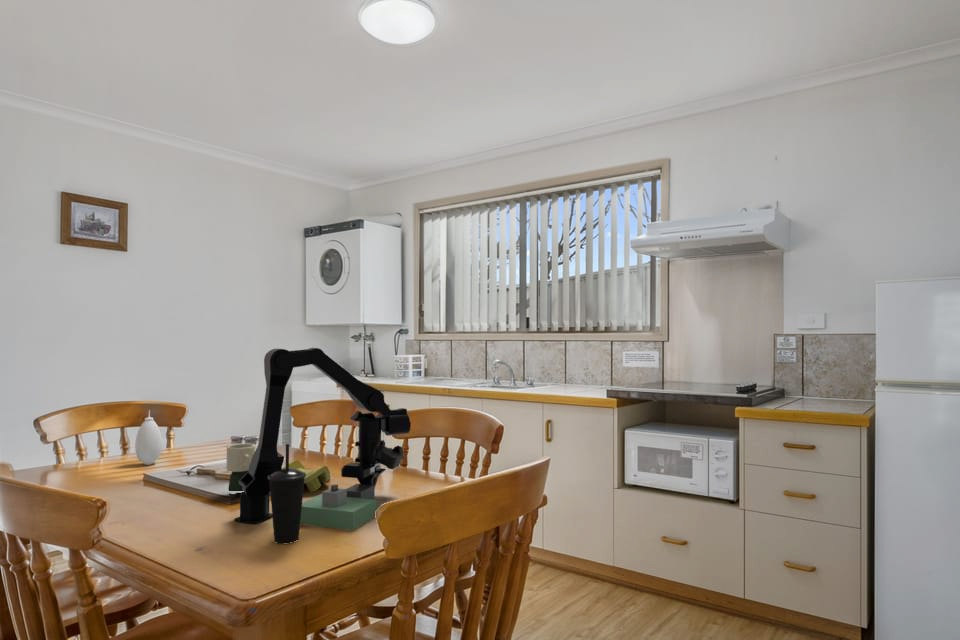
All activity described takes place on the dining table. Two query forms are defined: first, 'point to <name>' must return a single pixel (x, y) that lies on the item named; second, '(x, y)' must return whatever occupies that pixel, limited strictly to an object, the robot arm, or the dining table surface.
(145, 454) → the white bulb air blower
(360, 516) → the green base with blocks
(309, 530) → the dining table surface
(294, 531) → the drinking cup
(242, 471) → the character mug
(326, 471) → the plastic component
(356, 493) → the charcoal rectangular prism
